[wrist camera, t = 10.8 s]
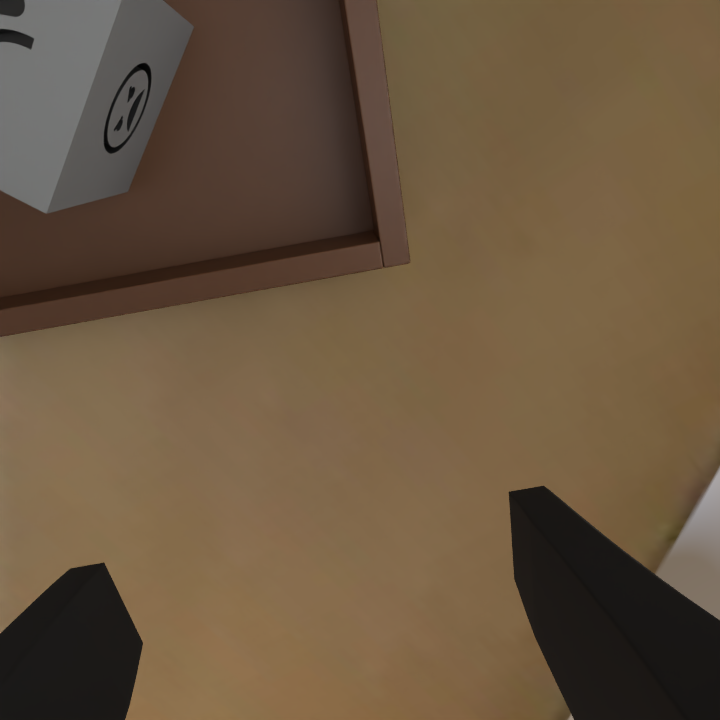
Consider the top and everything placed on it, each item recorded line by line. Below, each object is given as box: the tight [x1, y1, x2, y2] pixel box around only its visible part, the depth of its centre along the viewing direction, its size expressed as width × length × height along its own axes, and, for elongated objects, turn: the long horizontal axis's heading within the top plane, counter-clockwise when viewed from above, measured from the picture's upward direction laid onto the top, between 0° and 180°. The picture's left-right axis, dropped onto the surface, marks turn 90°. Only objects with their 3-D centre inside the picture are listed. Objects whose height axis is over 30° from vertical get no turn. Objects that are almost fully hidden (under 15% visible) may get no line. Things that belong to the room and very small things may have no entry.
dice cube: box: [0, 0, 194, 214], centre depth 12 cm, size 5×5×5 cm
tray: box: [0, 0, 410, 337], centre depth 14 cm, size 17×14×2 cm
